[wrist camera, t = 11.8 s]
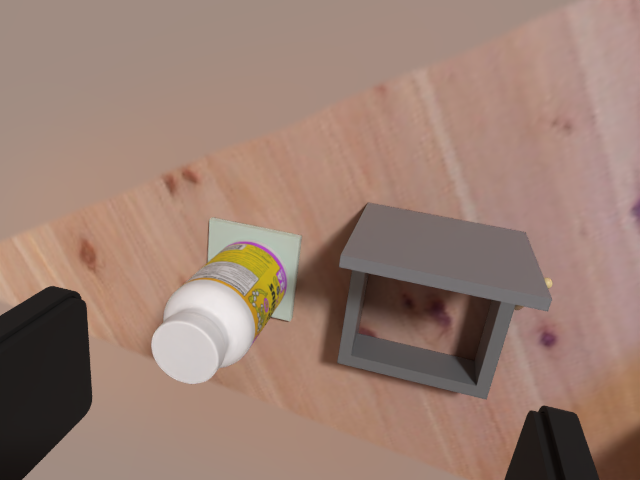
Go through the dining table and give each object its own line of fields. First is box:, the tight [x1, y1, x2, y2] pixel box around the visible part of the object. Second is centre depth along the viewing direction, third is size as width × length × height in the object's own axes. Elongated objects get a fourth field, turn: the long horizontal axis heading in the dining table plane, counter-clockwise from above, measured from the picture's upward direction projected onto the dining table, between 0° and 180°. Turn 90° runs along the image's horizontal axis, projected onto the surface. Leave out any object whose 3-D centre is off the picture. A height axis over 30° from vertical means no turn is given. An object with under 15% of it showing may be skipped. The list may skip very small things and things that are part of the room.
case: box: [337, 203, 552, 399], centre depth 37 cm, size 13×13×11 cm
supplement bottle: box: [151, 240, 288, 384], centre depth 38 cm, size 7×7×13 cm
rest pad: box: [208, 217, 302, 321], centre depth 45 cm, size 8×8×1 cm
